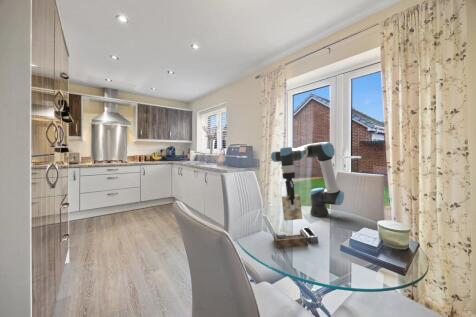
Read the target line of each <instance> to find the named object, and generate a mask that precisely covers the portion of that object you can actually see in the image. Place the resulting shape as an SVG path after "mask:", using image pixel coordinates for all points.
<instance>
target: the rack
mask: <svg viewBox="0 0 476 317" xmlns="http://www.w3.org/2000/svg"><path fill="white" fill-rule="evenodd" d="M272 233H273V240H274V243H275V246H276V249H284V248H285V249H286V248H294V247H296V248H297V247H308V246H309V242H308V241H307V237H306V235H305V234H304V233H303V231H302V229H299V233H298V234H290V235H289V234H288V235H286V237H285V238H277V236H276V232H274V231H273V232H272Z"/></svg>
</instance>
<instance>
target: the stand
mask: <svg viewBox="0 0 476 317" xmlns="http://www.w3.org/2000/svg"><path fill="white" fill-rule="evenodd" d="M301 230H302V231H303V233H304V234H305V235H306V237H307V241H308V244H319V237H318V235H317V234H316V233H315V232H314V231H313V230H312V228H310V227H309V226H306V227H305V226H304V227H301Z"/></svg>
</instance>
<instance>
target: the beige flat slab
mask: <svg viewBox="0 0 476 317" xmlns="http://www.w3.org/2000/svg"><path fill="white" fill-rule="evenodd" d="M289 199H290V197H289V196H287V195H281V204H282V211H283V212H282V213H283V220H284V221H285V222H286V221H294V220H295V221H296V220H302V219H303V213H302V212H303V211H302V200H301V195H300V194H295V199H294V205H295V210H290V201H289Z"/></svg>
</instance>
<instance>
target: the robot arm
mask: <svg viewBox="0 0 476 317" xmlns="http://www.w3.org/2000/svg"><path fill="white" fill-rule="evenodd" d="M270 154H271V156H270V159H271V161H272V162H274V163H279V162H280V164H281V167H280V169H281V171H282V179H284V180H286V181H285V189H286V196H289V197H290V199H289V201H290V210H295V205H294V199H295V195H296V194H295V184H294V181H293V179H295V178H296V175H295V174H296V173H295V164H294V163H295V162H297V161H302V160H303V158H305V159H306V158H316V160H317V162H318V163H319V164H320V165H319V166H320V169H321V174H322V178H323V182H324V186H325V187H317V188H312V189H311V190H310V194H309V195H310V201H311V207H310V212H309V213H310V214H309V215H310V216H312V217H316V218H325V217H328V216H329V215H330V214H329V213H330V212H329V210H328V208H327V205H334V206H341V205H342V204H343V203H344V199H345V194H344V191H342V190H341V188H340V187H339V186H338V184H337V180H336V176H335V172H334V167H333V162H332V159H333V158H334V156H335V148H334V145H333V144H332V143H331V142H330V141H323V142H321V141H320V142H316V143H308V144H305V145H301V146H299V147H297V148H296V147H295V148H293V147H291V146H290V147H289V146H288V147H287V146H286V147H281V148H280V149H279V150H276V151H273V152H271V153H270Z"/></svg>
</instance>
